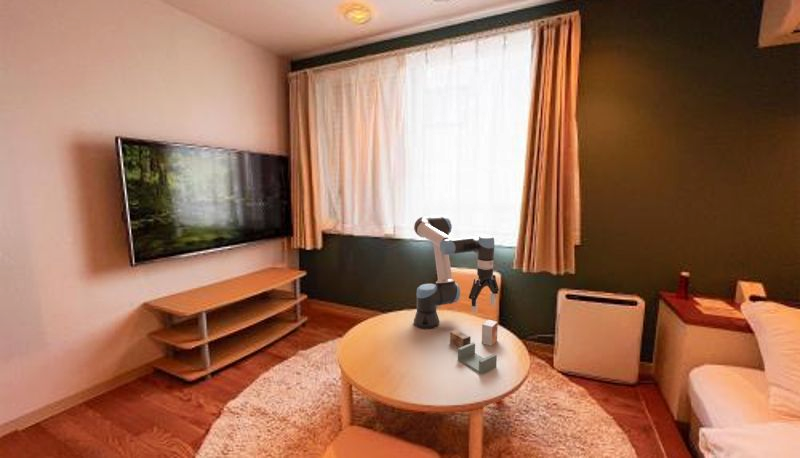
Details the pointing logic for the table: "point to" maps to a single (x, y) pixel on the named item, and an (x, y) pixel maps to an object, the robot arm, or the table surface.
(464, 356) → the bracket
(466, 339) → the rail end
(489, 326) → the small box
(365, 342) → the table surface
